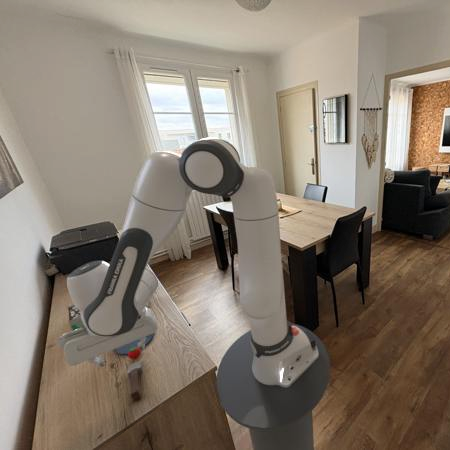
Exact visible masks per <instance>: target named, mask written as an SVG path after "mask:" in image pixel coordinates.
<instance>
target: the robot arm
mask: <svg viewBox="0 0 450 450" xmlns="http://www.w3.org/2000/svg"><path fill="white" fill-rule="evenodd" d="M193 191H196V192H198V193H202V194H206V195H214V196H217V197H223V198H230V201H231V205H232V213H233V221H234V227H235V234H236V242H237V269H238V284H239V287H238V288H239V300H240V308H241V310H242V312H243V313H244V314H245V315H246V316H247V317H248V321H249V326H250V330H251V345H252V350H253V352H254V359H253V364H252V372H253V375H254V377H255V378H256V379H257V380H258V381H259V382H261V383H263V384H266V385H279V386H282V387H285V388H288V387H289V386H291V385H292V384H293V383H294V382H295V381H296V380H297V379H298V378H299V377H300V375H301V374H302V373H303V372H304V371H305V370H306V369H307V368H308V367H309V366H310V365H311V364H312V363H313V362H314V361H315V360H316V359H317V358H318V357H319V353H318V349H317V347H316V343H315V338H314V337H313V336H312V334H311V333H310V332H309V330H310V329H308V330H306V331H304V332H303V331H302V330H301V329H300V328H298V327H296V326H292V324H293V323H292V322H290V321H289V320H288V319H287V318H288V317H287V307H286V296H285V295H286V293H285V281H284V269H283V262H282V247H281V244H282V243H281V232H280V231H281V230H280V216H279V215H280V214H279V203H278V197H277V191H276V187H275V183H274V180H273V176H272V175H271V173H270V172H269V171H268V170H266V169H263V168H260V167H256V166H249V167H248V166H246V165H243V164H242V163H241V156H240V154H239V152H238V150H237V148H236V147H235V146H234V145H233V144H232V143H230V142H229V141H227V140H224V139H221V138H217V137H205V138H201V139H198V140H195V141H193V142H191V143H189V144H188V145H187V146H186V147H185V148H184V149H183V151H182V152H181V154H178V153H175V152H172V151H167V150H157V151H154V152H152V153H150V154H149V155H148V156H147V157H146V159H145V160H144V163H143V164H142V166H141V168H140V169H139V172H138V174H137V177H136V179H135V183H134V186H133V188H132V192H131V196H130V199H129V204H128V208H127V210H126V215H125V218H124V223H123V226H122V229H121V231H120V235H119V238H118V242H117V244H116V247H115V249H114V252H113V255H112V257H111V259H110V263H108V262H107V261H104V260H94V261H90V262H87V263H84V264H83V265H81V266H79V267H77V268H76V269H74V270H72V272H70V274H68V275H67V277H66V286H67V291H68V293H69V296H70V298H71V300H72V303H73V305H75V306H76V307H77V308H78V309H79V310H80V312H81V319H82V321H83V324H84V326H83V327H81V328H78V329H76V330H73V329H72V330H71V331H67V332H64V333H62V335H61V336H59V338H58V339H57V341H56V343H57V345H58V347H59V349H61V350H63V353H64V358H65V360H66V363H67V365H69V366H73V367H75V366H77V365H80V364H82V363H84V362H88V363H90V364H93V365H96V366H97V367H98V369H100V368H103V367H106V366H107V360H106V358H105V356H102V355H105V354H106V353H109V352H112V351H113V350H116V348H119V347H121V346H124V345H126V344H128V343H131V342H133V341H136V340H138V339H140V340H141V342H139V343H138V349H139V351H140V350H141V351H142V350H144V349H146V346H145V344H144V343H145V340H146V336H148V335H150V334H153V333H154V334H155V333H156V332H157V331H158V329H159V326H158V322H157V318H156V316H155V315H154V313H153V311H152V310H151V309H150V308H149V307H146V305H147V303H148V304H149V302H150V301H151V299H152V297H153V296H154V294H155V292H156V290H158V287H159V281H158V280H159V279H158V278H157V276H156V275H155V274H154V272H153V271H151V270H150V269H148V268H147V266H148V264H149V263H150V261H151V260H152V259H153V257H154V256H155V254H156V253H157V252H158V250H159V249H160V248H161V247H162V246H163V245H164V244H165V243H166V241H167V240H168V239H169V238H170V237H171V236H172V234H173V233H174V232H175V230H176V229H177V227H178V226H179V225H180V222H181V221H182V219H183V216H184V215H185V212H186V209H187V205H188V202H189V199H190V197H191V194H192V193H193ZM291 323H292V324H291ZM99 356H102V357H99ZM289 379H290V381H289Z"/></svg>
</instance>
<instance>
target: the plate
mask: <svg viewBox="0 0 450 450" xmlns="http://www.w3.org/2000/svg"><path fill="white" fill-rule="evenodd" d="M154 334H155V333H153V334H150V335H148V336H146V340H145V343H144V344H145V347H147V345H148V344H150V342H151V341H152V340H153V338H154ZM139 342H141V340H140V339H138V340H136V341H133V342H131V343H128V344H126V345H124V346H121V347H119V348H116V349H115V352H116V353H117V354H119V355H121V356H126V355H127V356H128V353H129V351H130V349H131V348H132V347H138V343H139Z"/></svg>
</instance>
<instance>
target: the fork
mask: <svg viewBox="0 0 450 450" xmlns="http://www.w3.org/2000/svg"><path fill="white" fill-rule="evenodd" d="M143 369H144V368H143V363H142V360H138V361H136V362H134V363H132V364H130V365H128V366H127V375H128V378H130V396H131V398H132V400H133V402H136V401H137V400H139V399H141V398H142V391H141V389H142V388H141V373H142V372H143V371H144V370H143Z"/></svg>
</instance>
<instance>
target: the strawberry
mask: <svg viewBox="0 0 450 450" xmlns="http://www.w3.org/2000/svg"><path fill="white" fill-rule="evenodd" d="M141 352H142V350H140V351H139V349H138V347H132V348H131V349H130V351H129V353H128V354H127V357H128V358H129V359H130V360H135V359H138V358H139V356H140V355H141Z"/></svg>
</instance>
